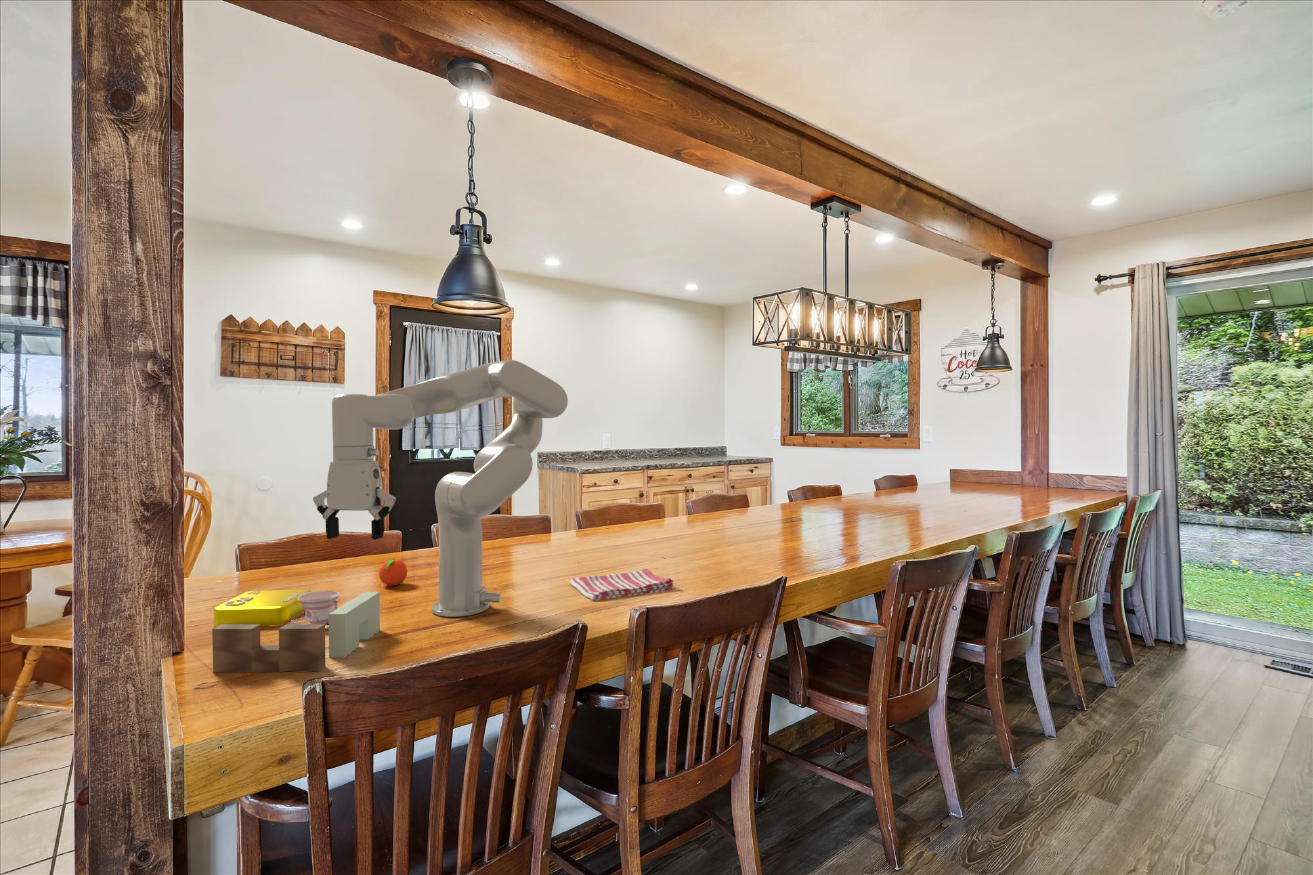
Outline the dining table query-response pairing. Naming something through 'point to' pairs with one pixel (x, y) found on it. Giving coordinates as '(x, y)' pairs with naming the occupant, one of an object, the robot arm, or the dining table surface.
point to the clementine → (393, 572)
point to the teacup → (318, 606)
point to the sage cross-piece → (353, 623)
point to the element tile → (260, 608)
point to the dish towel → (621, 584)
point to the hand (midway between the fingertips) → (355, 538)
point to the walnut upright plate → (268, 648)
